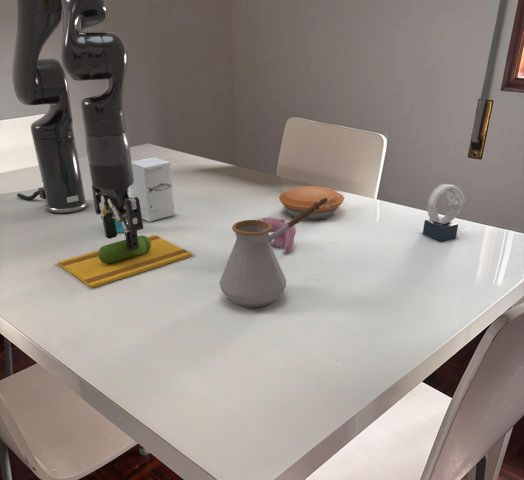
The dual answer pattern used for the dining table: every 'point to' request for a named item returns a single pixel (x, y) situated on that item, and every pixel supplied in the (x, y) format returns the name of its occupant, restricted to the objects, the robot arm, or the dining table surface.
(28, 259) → the dining table surface
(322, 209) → the pie
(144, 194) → the white packaging box
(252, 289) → the coffee pot
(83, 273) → the towel
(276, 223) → the video game controller
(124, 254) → the pickle
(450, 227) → the ring sculpture on base
